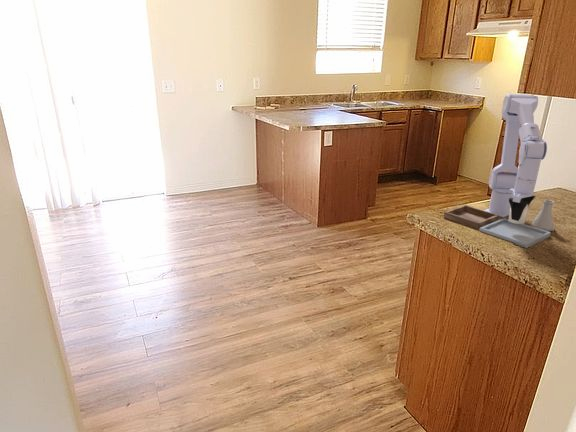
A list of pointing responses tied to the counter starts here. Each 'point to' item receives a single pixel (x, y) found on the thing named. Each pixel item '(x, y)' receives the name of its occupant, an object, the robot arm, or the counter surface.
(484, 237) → the counter surface
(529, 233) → the slate tray
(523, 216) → the cream cylinder
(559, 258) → the counter surface
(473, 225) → the brown square tray
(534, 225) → the flask
